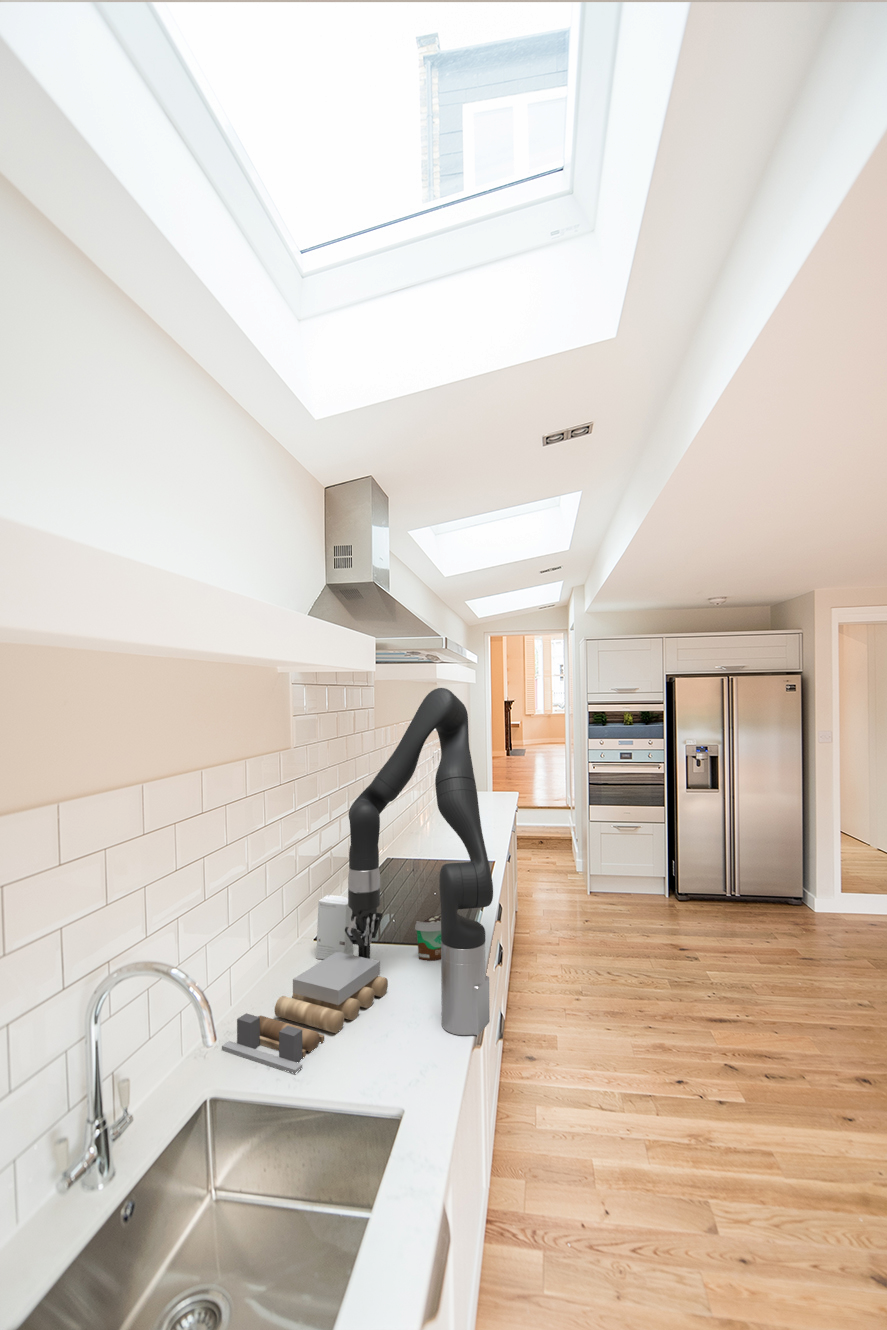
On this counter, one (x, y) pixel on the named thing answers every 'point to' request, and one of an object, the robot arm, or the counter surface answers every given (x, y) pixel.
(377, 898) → the robot arm
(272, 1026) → the roller
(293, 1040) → the bumper posts
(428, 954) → the food container
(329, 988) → the slab
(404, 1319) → the counter surface
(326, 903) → the skincare box
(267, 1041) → the roller bed
